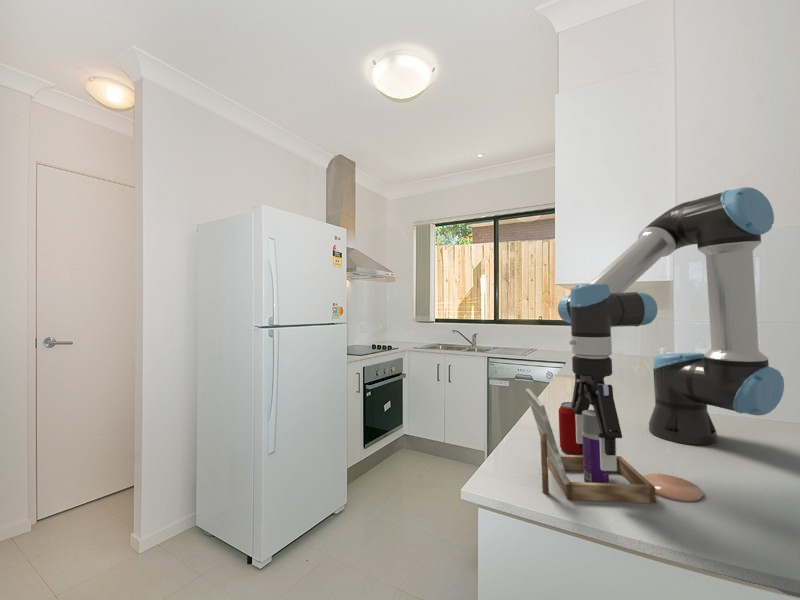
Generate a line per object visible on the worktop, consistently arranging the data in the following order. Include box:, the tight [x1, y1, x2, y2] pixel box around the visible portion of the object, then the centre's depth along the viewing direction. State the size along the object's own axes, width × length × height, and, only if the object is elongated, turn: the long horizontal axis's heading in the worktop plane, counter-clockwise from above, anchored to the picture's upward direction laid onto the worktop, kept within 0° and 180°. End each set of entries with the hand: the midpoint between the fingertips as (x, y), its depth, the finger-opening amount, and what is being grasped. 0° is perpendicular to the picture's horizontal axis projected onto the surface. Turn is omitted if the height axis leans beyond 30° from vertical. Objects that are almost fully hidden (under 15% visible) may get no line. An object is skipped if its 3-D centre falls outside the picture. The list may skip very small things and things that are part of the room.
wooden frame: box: [525, 388, 657, 504], centre depth 77 cm, size 20×14×19 cm
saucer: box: [642, 473, 704, 503], centre depth 73 cm, size 10×10×1 cm
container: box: [582, 409, 610, 483], centre depth 77 cm, size 5×5×15 cm
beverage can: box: [558, 401, 583, 455], centre depth 93 cm, size 7×7×12 cm
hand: (594, 455), depth 76 cm, fingers open, 13 cm apart
